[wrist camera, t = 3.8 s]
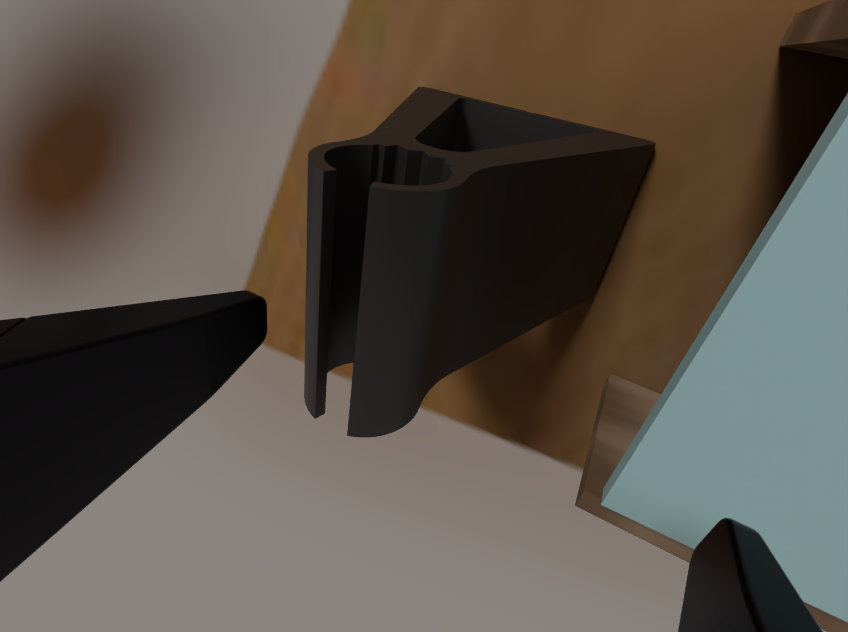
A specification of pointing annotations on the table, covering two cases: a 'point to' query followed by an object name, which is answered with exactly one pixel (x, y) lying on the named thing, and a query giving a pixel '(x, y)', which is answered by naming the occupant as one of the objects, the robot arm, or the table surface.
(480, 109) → the phone stand
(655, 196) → the table surface
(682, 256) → the table surface
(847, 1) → the trapdoor frame
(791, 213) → the trapdoor
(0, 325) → the robot arm
